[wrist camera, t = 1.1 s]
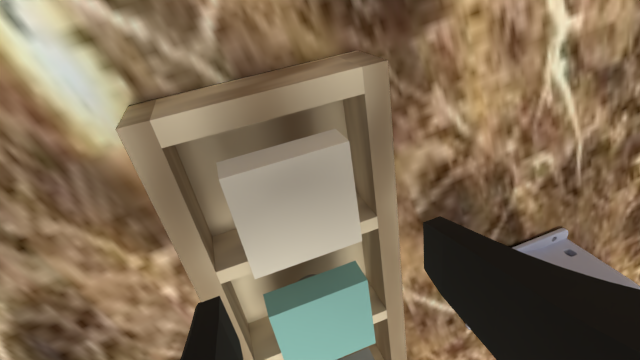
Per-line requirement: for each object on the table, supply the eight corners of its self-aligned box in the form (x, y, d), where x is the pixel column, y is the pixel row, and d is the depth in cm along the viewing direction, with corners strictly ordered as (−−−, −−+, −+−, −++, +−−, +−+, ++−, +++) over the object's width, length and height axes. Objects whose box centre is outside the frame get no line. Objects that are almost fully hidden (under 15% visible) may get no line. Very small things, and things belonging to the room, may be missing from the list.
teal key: (343, 241, 20) (367, 280, 17) (353, 301, 22) (375, 342, 20) (257, 271, 19) (268, 317, 16) (278, 330, 21) (290, 378, 19)
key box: (357, 50, 18) (388, 60, 15) (388, 344, 30) (408, 379, 27) (128, 105, 15) (115, 129, 13) (262, 398, 28) (269, 441, 25)
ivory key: (322, 116, 16) (349, 141, 13) (337, 205, 19) (362, 241, 16) (213, 146, 15) (218, 179, 12) (245, 236, 18) (254, 279, 15)
